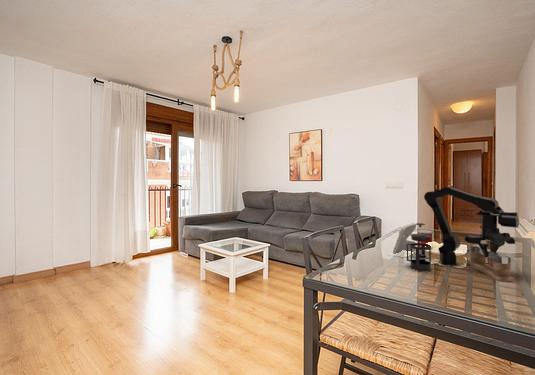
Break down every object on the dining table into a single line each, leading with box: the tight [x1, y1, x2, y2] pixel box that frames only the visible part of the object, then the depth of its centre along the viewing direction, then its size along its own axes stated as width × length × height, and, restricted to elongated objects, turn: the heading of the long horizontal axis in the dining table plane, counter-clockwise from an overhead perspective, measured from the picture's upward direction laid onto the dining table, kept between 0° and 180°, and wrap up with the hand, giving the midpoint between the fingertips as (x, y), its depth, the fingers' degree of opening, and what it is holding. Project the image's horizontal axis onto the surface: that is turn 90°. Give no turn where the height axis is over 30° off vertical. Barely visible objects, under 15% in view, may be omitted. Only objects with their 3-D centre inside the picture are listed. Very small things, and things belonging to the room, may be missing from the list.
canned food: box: [417, 229, 433, 247], centre depth 176 cm, size 8×8×11 cm
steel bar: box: [472, 244, 509, 264], centre depth 132 cm, size 2×22×3 cm, turn 171°
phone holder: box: [392, 222, 417, 254], centre depth 167 cm, size 17×10×18 cm, turn 130°
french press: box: [406, 222, 432, 272], centre depth 140 cm, size 12×9×23 cm
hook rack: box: [467, 245, 516, 283], centre depth 132 cm, size 6×24×10 cm, turn 171°
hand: (489, 257), depth 132 cm, fingers closed on steel bar, 2 cm apart
